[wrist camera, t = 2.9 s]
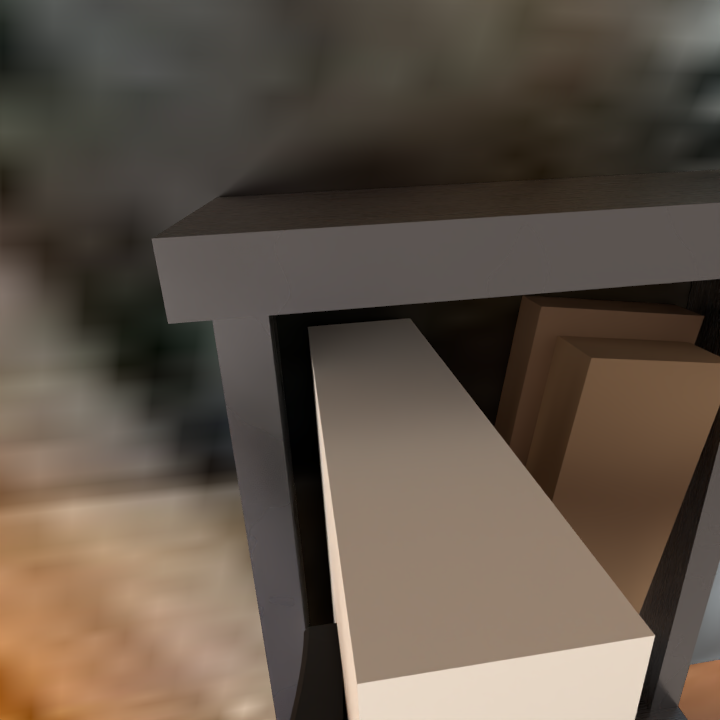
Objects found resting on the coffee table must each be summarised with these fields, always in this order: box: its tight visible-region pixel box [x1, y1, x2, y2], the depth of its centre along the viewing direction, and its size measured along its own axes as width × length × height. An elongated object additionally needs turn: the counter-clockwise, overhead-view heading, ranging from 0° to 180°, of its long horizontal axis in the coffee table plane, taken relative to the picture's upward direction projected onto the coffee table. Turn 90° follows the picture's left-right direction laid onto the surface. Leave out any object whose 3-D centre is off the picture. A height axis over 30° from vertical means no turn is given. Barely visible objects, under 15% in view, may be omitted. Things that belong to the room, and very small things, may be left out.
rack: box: [152, 169, 720, 720], centre depth 13 cm, size 18×13×6 cm
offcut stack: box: [494, 295, 720, 614], centre depth 15 cm, size 12×4×3 cm, turn 174°
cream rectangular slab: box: [308, 318, 655, 720], centre depth 11 cm, size 12×2×9 cm, turn 2°
